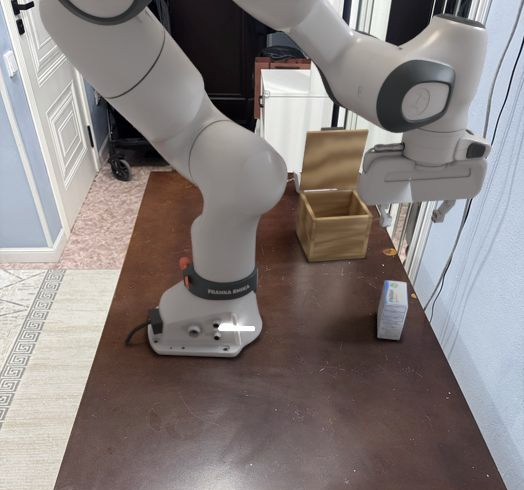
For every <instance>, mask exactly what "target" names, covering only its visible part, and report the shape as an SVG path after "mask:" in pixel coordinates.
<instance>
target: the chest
mask: <svg viewBox="0 0 524 490" xmlns="http://www.w3.org/2000/svg"><path fill="white" fill-rule="evenodd" d="M373 217H374V216H373V214H372V213H371V211H370V210H369V209H368V206H367V205H365V204H364V203H363V202H362V200H361V199H360V197H359V196H358V193H357V190H356V189H355V188H343V189H337V190H326V191H307V192H299V193H298V205H297V219H296V235H297V237H298V240H299V242H300V245H301V247H302V250H303V252H304V254H305V256H306V259H307V262H308V263H312V262H314V263H315V262H325V261H326V262H327V261H339V260H355V259H365V258H366V253H367V249H368V243H369V237H370V234H371V228H372V222H373Z"/></svg>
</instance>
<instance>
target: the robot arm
mask: <svg viewBox="0 0 524 490" xmlns="http://www.w3.org/2000/svg"><path fill="white" fill-rule="evenodd" d="M152 1H153V0H38V11H39V17H40V21H41V23H42V25H43V28H44V29H45V31H46V33H47V34H48V35H49V37H50V38H51V40H52V41H53V42H54V44H55V45H56V46H57V48H58V49H59V51H61V53H62V54H63V56H64V57H65V58H66V59H67V61H68V62H69V63H70V64H71V65H72V66H73V67H74V69H75V70H76V71H77V72H78V73H79V74H80V75H81V77H83V79H84V80H85V81H86V82H87V83H88V84H89V85H90V86H91V87H92V88H93V89H94V90H95V91H96V92H97V93H98V94H99V95H100V96H101V97H102V98H103V99H104V100H106V102H108V103H109V105H111V106H112V107H113V108H114V109H115V110H116V111H117V112H118V113H119V114H120V115H121V116H122V117H123V118H125V120H126V121H128V123H130V124H131V125H132V126H133V128H135V129H136V130H137V131H138V133H141V135H142V136H143V137H144V138H145V139H146V140H147V141H148V142H149V144H151V146H152V147H153V148H154V149H155V150H156V151H157V153H158V154H159V155H160V156H161V157H162V158H163V159H164V160H165V161H166V162H167V163H168V164H169V165H170V166H171V167H172V168H173V169H174V170H175V171H176V172H177V173H178V174H179V175H181V177H183V178H185V180H187V181H188V182H189V183H191V184H193V185H194V186H195V187H197V188H198V189H199V191H200V194H201V195H202V200H203V207H202V212H201V214H199V215H198V216H197V217H196V218H195V219H194V221H193V222H192V224H191V225H190V240H191V251H192V261H191V259H190V258H189V257H187V256H182V257H181V258H180V259H179V269H180V270H181V271H182V280H180V281H178V282H177V283H175V284H174V285H173V286H171V287H170V288H168V289H166V290H165V291H164V292H163V293H162V295H161V297H160V300H159V304H158V305H157V306H156V307H155V308H150V309H147V314H148V320H146V321H144V322H142V323H141V324H139V325H137V326H135V327H134V328H133V329H131V331H130V332H129V333H128V335H127V337H126V339H125V340H124V343H125V344H126V345H127V344H129V343H130V341H131V340H132V338H133V336H134V335H135V334H136V333H137V332H138V331H140V330H142V329H143V328H146V327H147V337H148V338H147V339H148V342H149V345H150V347H151V348H152V350H153V351H154V352H156V354H158V355H162V356H163V355H165V356H166V355H167V356H187V357H188V356H190V357H191V356H192V357H216V358H219V357H220V358H234V357H236V356H238V355H239V354H240V352H241V351H242V349H243V348H244V347H245V346H247V345H248V344H250V343H252V342H253V341H254V340H256V339H257V338H258V336H259V335H260V334H261V332H262V329H263V320H262V317H261V314H260V311H259V307H258V306H259V305H258V302H257V292H258V285H259V277H258V276H259V269H258V265H257V261H256V242H257V241H256V240H257V239H256V238H257V230H258V225H259V222H260V219H261V217H262V215H264V214H266V213H268V212H270V211H271V210H272V209H273V208H274V207H275V206H276V205H277V204H278V203H279V202H280V201H281V199H282V197H283V196H284V194H285V191H286V188H287V184H288V177H289V176H288V175H289V172H288V167H287V163H286V161H285V159H284V157H283V156H282V155H281V154H280V153H279V152H278V151H277V150H276V149H275V147H273V146H272V145H271V144H270V143H269V142H268V141H267V140H266V139H265V138H264V137H262V136H260V135H259V134H257V133H255V132H253V131H252V130H249V129H247V128H245V127H244V126H242V125H240V124H238V123H237V122H235V121H233V120H232V119H230V118H229V117H227V116H226V115H225V114H224V113H223V112H221V111H220V110H219V109H218V108H217V107H216V106H215V105H214V104H213V102H212V101H211V99H210V97H209V96H208V94H207V92H206V90H205V83H204V78H203V76H202V73H200V71H199V69H197V67H195V65H194V64H193V62H192V61H191V60H190V58H189V57H188V56H187V55H186V53H185V52H184V51H183V49H182V48H181V47H180V46H179V44H178V43H177V42H176V40H174V38H173V37H172V36H171V34H170V33H169V32H168V31H167V29H166V28H165V26H164V25H163V24H162V23H161V22H160V21H159V20H158V18H157V17H156V16H155V14H154V13H153V11H151V10H150V8H149V7H148V6H149V5H150V4H151V2H152ZM232 1H233V3H235V4H236V5H237V6H238V7H239V8H241V9H242V10H243V11H245V12H246V13H247V14H249V15H250V16H251V17H252V18H253V19H256V20H257V21H259V22H260V23H262V24H264V25H266V26H267V27H269V28H271V29H273V30H275V31H279V32H280V31H281V32H283V33H284V34H285V35H286V36H287V37H288V38H289V39H290V40H291V41H292V42H293V43H294V44H295V45H296V46H297V47H298V48H299V49H300V50H301V52H302V53H303V54H304V55H305V56H306V57H307V58H308V59H309V60H310V61H311V63H312V64H313V65H314V66H315V68H316V69H317V72H318V74H319V76H320V79H321V82H322V85H323V87H324V90H325V92H326V95H327V96H328V98H329V99H330V101H331V102H332V103H334V104H335V105H336V106H338V107H340V108H343V109H345V110H347V111H350V112H352V113H354V114H356V115H357V116H359V117H360V118H362V119H363V120H366V121H367V122H369V123H371V124H372V125H375V126H376V127H378V128H380V129H381V130H383V131H386V132H390V133H392V134H402V136H401V140H400V142H392V143H385V144H384V143H377V144H374V146H372V147H370V148H369V149H368V150H367V151H366V152H364V154H363V157H362V164H361V165H362V167H361V169H362V171H361V174H360V178H359V181H358V186H357V190H356V192H357V193H358V196H359V197H360V199H361V200H362V202H363V203H364V204H365V205H366V206H376V207H377V209H378V212H379V214H380V216H379V221H378V222H379V223H378V224H379V225H380V227H381V228H386V227H387V228H388V227H391V226H392V222H393V216H391V213H389V212H387V211H386V210H389V209H390V205H396V204H397V205H398V204H413V203H425V202H426V203H428V202H441V201H442V203H441V204H440V205H439V207H438V208H436V209H433V210H432V213H431V214H432V215H431V217H430V220H431V222H433V223H434V224H441V223H444V222H445V221H444V220H445V218H446V215H447V214H448V213H449V212H450V211H451V210H452V208H454V206H456V203H457V200H470V199H471V200H472V199H474V198H476V197H477V196H478V195H479V194H480V193H481V191H482V188H483V185H484V182H485V179H486V175H487V173H488V172H487V171H488V166H489V165H488V160H487V159H486V158H488V157H489V156H490V154H491V152H492V148H493V147H492V144H491V143H490V142H489V141H488V140H486V139H485V137H483V136H482V135H480V134H479V133H477V132H476V131H474V130H472V129H470V128H468V122H469V109H470V106H471V104H472V102H473V100H474V98H475V96H476V95H477V92H478V89H479V85H480V81H481V78H482V75H483V70H484V65H485V61H486V57H487V50H488V43H489V42H488V41H489V35H488V33H489V32H488V29H487V27H486V26H485V24H483V23H482V22H480V21H478V20H473V19H471V18H467V17H463V16H459V15H456V14H451V13H446V12H445V13H438V14H435V15H433V16H432V18H431V19H430V22H429V24H428V25H427V26H426V27H425V28H424V29H423V30H422V31H421V32H420V33H419V34H417V35H416V36H415V37H414V38H412V39H410V40H408V41H407V42H405V43H403V44H401V45H395V44H393V43H391V42H387V41H384V40H382V39H380V38H378V37H377V36H375V35H372V34H371V33H368V32H366V31H362V30H358V29H354V28H352V27H350V26H349V25H348V23H347V22H346V21H345V20H344V18H343V17H342V16H341V15H340V14H339V12H338V11H337V10H336V8H335V7H334V6H333V5H332V3H331V2H330V1H329V0H232Z"/></svg>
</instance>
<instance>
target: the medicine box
mask: <svg viewBox="0 0 524 490" xmlns="http://www.w3.org/2000/svg"><path fill="white" fill-rule="evenodd" d="M408 308H409V299H408V283H407V282H405V281H398V280H384V282H383V285H382V289H381V295H380V299H379V303H378V307H377V313H376V315H377V316H376V319H377V323H376V325H377V327H376V329H377V336H376V338H378V339H385V340H393V341H394V340H395V341H400V339H401V335H402V332H403V328H404V324H405V320H406V316H407V314H408V313H407V312H408Z"/></svg>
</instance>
